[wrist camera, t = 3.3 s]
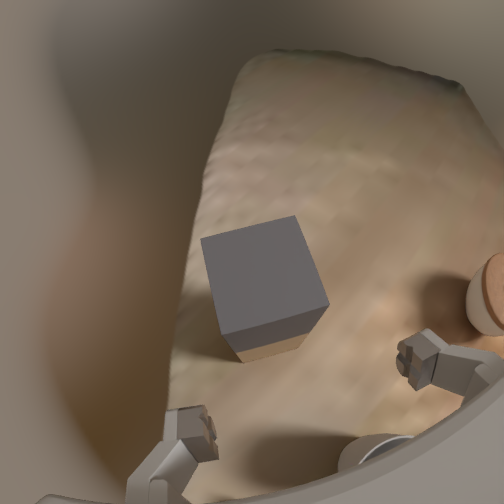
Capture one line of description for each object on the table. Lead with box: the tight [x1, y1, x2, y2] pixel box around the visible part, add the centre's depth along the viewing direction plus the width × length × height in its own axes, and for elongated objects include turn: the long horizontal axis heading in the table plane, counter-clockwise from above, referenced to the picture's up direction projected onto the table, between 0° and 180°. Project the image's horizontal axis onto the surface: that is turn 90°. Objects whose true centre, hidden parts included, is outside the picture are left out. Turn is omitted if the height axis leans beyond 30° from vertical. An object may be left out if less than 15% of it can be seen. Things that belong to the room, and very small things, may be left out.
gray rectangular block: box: [200, 215, 330, 353], centre depth 21 cm, size 6×6×8 cm
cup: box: [338, 433, 415, 472], centre depth 20 cm, size 8×8×10 cm
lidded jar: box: [466, 253, 504, 337], centre depth 27 cm, size 11×11×9 cm
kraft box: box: [236, 332, 310, 363], centre depth 27 cm, size 6×6×12 cm
